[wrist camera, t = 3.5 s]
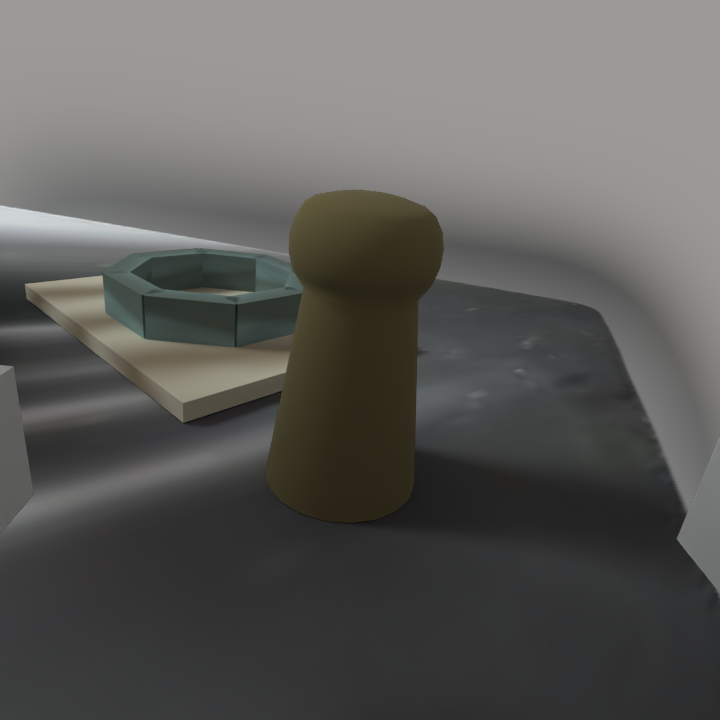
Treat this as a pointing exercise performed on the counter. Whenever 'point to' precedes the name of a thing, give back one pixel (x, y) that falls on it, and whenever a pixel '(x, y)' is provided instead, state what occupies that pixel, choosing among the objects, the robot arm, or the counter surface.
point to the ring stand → (185, 324)
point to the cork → (353, 355)
